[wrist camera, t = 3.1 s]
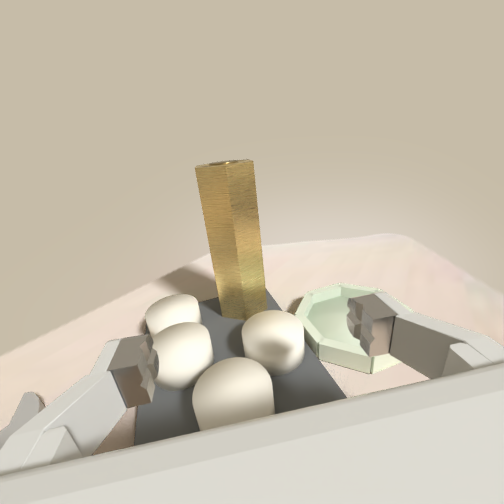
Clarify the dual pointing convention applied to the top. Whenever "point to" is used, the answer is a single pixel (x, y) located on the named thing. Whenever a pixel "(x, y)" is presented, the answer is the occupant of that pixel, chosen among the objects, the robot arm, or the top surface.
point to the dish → (338, 328)
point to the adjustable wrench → (22, 415)
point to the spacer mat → (226, 347)
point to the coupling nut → (233, 235)
